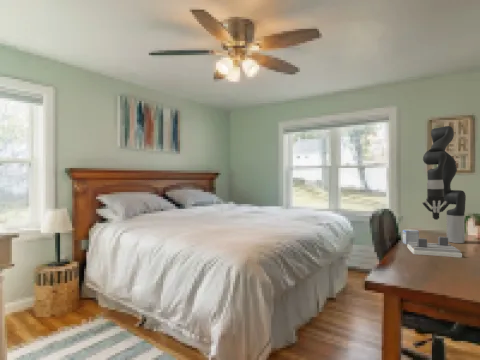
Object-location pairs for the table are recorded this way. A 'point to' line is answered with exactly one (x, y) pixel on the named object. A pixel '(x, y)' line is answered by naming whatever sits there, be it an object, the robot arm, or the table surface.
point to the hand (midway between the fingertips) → (435, 219)
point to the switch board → (434, 250)
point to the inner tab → (442, 241)
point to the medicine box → (410, 236)
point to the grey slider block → (422, 242)
